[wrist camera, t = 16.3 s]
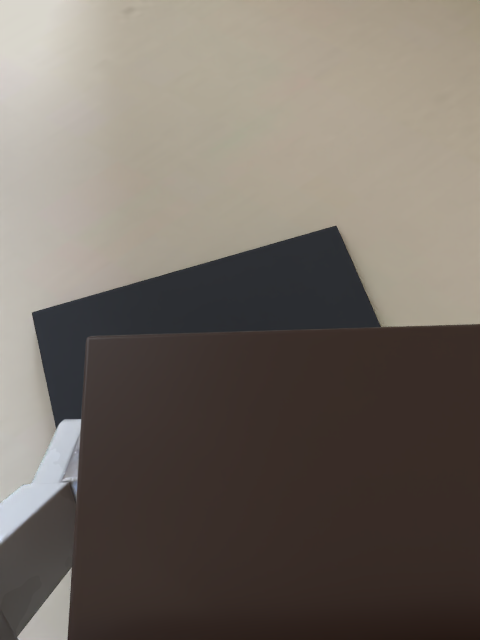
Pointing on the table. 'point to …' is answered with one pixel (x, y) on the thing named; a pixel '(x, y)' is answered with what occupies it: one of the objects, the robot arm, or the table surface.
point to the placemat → (208, 305)
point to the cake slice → (279, 486)
